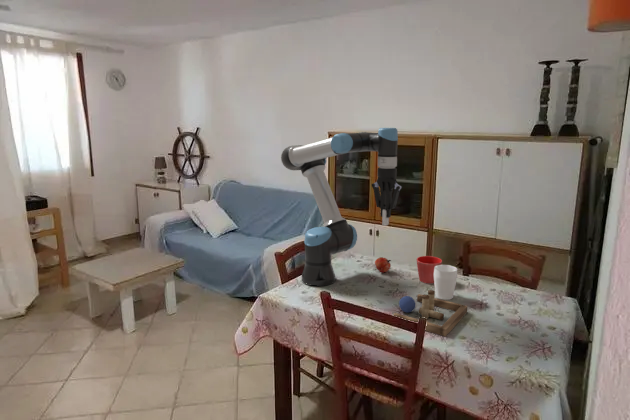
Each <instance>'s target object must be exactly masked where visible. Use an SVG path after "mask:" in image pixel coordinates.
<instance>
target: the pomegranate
mask: <svg viewBox="0 0 630 420" xmlns="http://www.w3.org/2000/svg"><path fill="white" fill-rule="evenodd" d="M391 262H392V260H391V259H388V258H386V257H383V256H382V257H381V256H379V257H378V258H376V260H375V261H374V265H375V269H374V271H376V270H378V271H379V273H382V274H384V272H385V273H387V272H388V271H390V269H391V267H392V265H391Z"/></svg>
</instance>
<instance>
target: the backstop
mask: <svg viewBox="0 0 630 420" xmlns="http://www.w3.org/2000/svg"><path fill="white" fill-rule="evenodd" d="M422 295H423V294H422V293H418V294H417V295H416V296H417V297H416V302H420V303H422ZM434 307H439V308H442V309H446V310H450V311H454V313H453V314H452V315H450V317H449V318H448V319H446V321H445V322H444V323H443V324H442V325H440V324H436V323H433V322H428V321H426V322H427V326H426V332H429V333H432V334H436V335H440V336H443V337H445V338H446V337H447V336H448V335H449V334H450V333H451V331H452V330H453V329H455V327H456V326H457V324H459V322H460V321H461V320H462V319H463V318H464V317H465V315H466V314H467V313H468V305H465V304H462V303H457V302H452V301H449V300H443V299H439V298H437V297H435V298H434ZM393 315H394V316H397V317H400V318H403V319H406V320H410V321H414V322H418V318H414V317H413V316H412V317H411V316H407V315H404V314H402V313H397V312H394V313H393ZM393 315H392V316H393ZM447 334H448V335H447Z"/></svg>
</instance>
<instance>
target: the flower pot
mask: <svg viewBox="0 0 630 420" xmlns="http://www.w3.org/2000/svg"><path fill="white" fill-rule="evenodd" d="M437 265H443V260H442V258H439V257H437V256H432V255H422V256H418V257H417V258H416V267H417V273H418V279H419V281H420V282H421V283H424V284H434V267H435V266H437Z"/></svg>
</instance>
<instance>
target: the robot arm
mask: <svg viewBox="0 0 630 420" xmlns="http://www.w3.org/2000/svg"><path fill="white" fill-rule="evenodd" d="M377 131H378V132H369V131H368V132H367V131H361V132H352V133H351V132H349V133H347V132H346V133H345V132H342V133H341V132H340V133H336V134H334V135H333V136H331V137H328V138H325V139H322V140H318V141H314V142H311V143H308V144H301V145H299V144H298V145H289V146H287V147H286V148H284V149H283V151H282V153H281V155H280V160H281V163H282V165H283V166H284V167H285V168H286V169H287V170H289V171H301V174H302V176H303V177H305V178H307V182H308V184H309V186H310V189H311V192H312V195H313V198H314V200H315V202H316V204H317V205H316V206H317V207H318V209H319V214H320V215H321V218H322V221H323V222H324V223H323V224H324V225H323V226H319V227H318V226H316V227H315V226H314V227H313V228H310V229H308V230H306V232H305V233H304V240H303V241H304V242H303V243H304V265H303V267H304V268H303V270H302V272H301V273H302V274H301V282H302V281H303V282H304V283H307V284H311V285H317V286H316V287H325V286H324V285H326V286H329V284H330V285H332V284H334V283H335V282H336V274H335V270H334V268H333V265H332V256H333V255H336V254H339V253H343V252H347V251H349V250H352V249H353V248H354V247H355V246H356V245H357V241H358V234H357V233H358V232H357V230H356V228H355V226H353V225H352V224H350V223H349V224H348V221H347V219H346V218H344V217H342V215H341V212H340V209H339V206H338V205H337V202H336V199H335V196H334V194H333V191H332V188H331V186H330V184H329V181H328V179H327V176H326V174H325V171H326V163H327V158H331V157H335V156H339V155H345V154H348V153H362V152H377V173H376V175H377V179H376V181H375V182H374V183H371V187H372V189H373V194H374V199H375V203H376V204H375V205H376V207H377V208H378V209H380V217H381V218H382V220H381V221H382V223H381V224H382V225H381V226H384V227H386V226H388V225H389V223H390V218H391V217H392V215H391V213H392V209H396V207H397V203H398V199H399V197H400V191H402V188H403V186H402V185H400V184H398V181H397V175H398V171H397V170H398V169H397V168H396V167H398V142H399V138H398V137H399V136H398V134H399V133H398V132H399V131H398V128H396V127H379V128H378V130H377ZM303 282H302V283H303ZM304 283H303V284H304Z"/></svg>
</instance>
